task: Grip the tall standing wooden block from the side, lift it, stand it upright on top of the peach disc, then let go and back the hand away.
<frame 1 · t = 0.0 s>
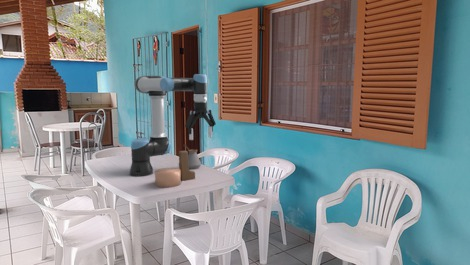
hand: (200, 138, 196), 28 cm above the table, tool pointing down, fingers open, 13 cm apart
peach disc: (168, 183, 203), on the table
wooden block: (187, 179, 214), on the table
coffee pot: (190, 166, 247), on the table
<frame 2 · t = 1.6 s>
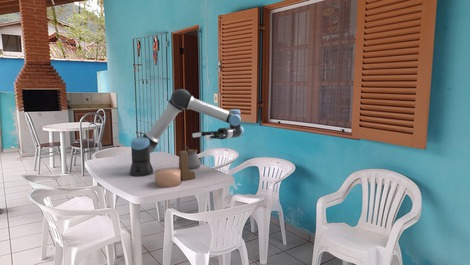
hand: (198, 136, 216), 26 cm above the table, tool horizontal, fingers open, 13 cm apart
nothing on the table moved.
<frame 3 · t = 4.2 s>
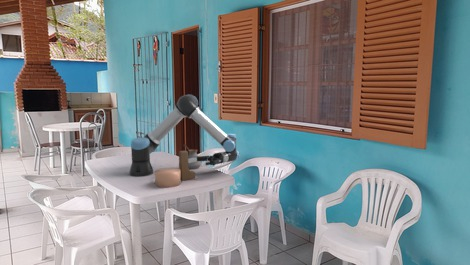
hand: (194, 162, 216), 10 cm above the table, tool horizontal, fingers open, 13 cm apart
nothing on the table moved.
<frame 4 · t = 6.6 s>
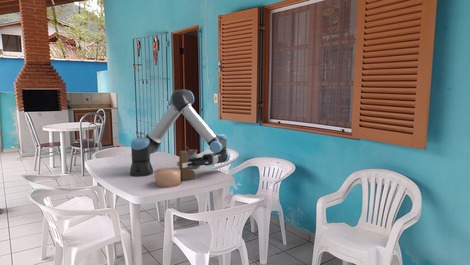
hand: (179, 164, 209), 10 cm above the table, tool horizontal, fingers closed on wooden block, 5 cm apart
wooden block: (187, 179, 214), on the table, touching gripper
everything else where it was.
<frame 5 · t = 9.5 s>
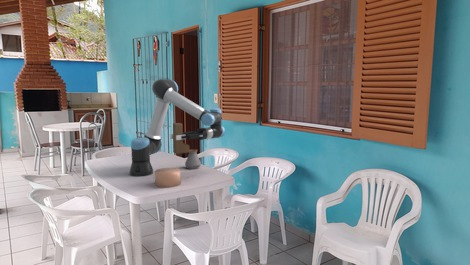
hand: (173, 137, 202), 28 cm above the table, tool horizontal, fingers closed on wooden block, 5 cm apart
wooden block: (181, 152, 207), point 18 cm above the table, touching gripper
everything else where it was.
when the fingers open (19 cm above the table, at t = 12.9 s): wooden block drops 2 cm, resting on peach disc.
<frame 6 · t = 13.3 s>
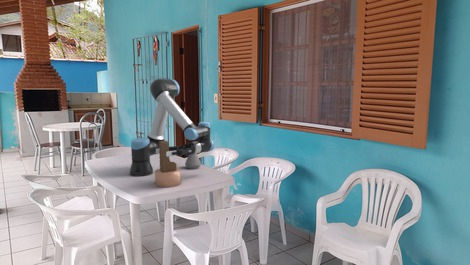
hand: (161, 152, 198), 19 cm above the table, tool horizontal, fingers open, 11 cm apart
wooden block: (168, 171, 202), point 8 cm above the table, touching peach disc
everything else where it was.
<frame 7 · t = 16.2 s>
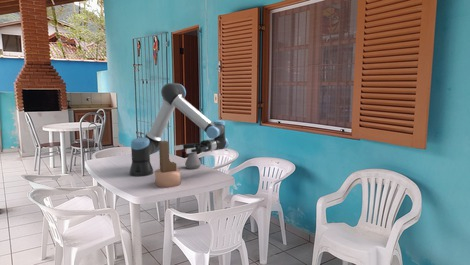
hand: (180, 149, 207), 20 cm above the table, tool horizontal, fingers open, 13 cm apart
nothing on the table moved.
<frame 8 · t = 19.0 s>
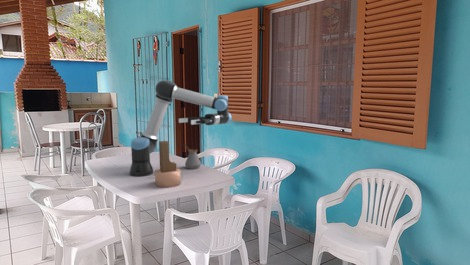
hand: (184, 121, 213), 36 cm above the table, tool horizontal, fingers open, 13 cm apart
nothing on the table moved.
at the end: wooden block inside the target area on the peach disc (0.6 cm from its centre), point 7.8 cm above the peach disc's base; wooden block tilted 0°; the gripper is holding nothing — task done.
